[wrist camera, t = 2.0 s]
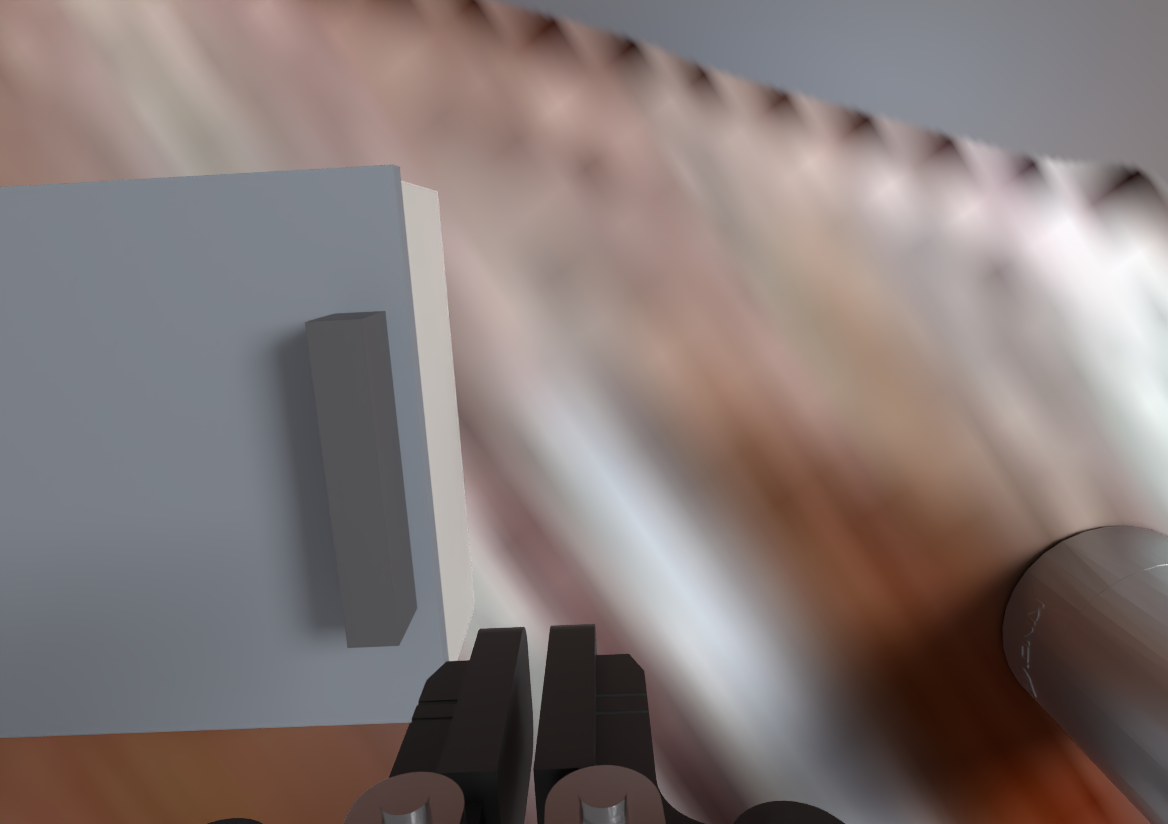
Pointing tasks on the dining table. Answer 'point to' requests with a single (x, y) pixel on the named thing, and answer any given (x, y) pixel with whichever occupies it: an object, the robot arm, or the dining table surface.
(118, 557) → the lid
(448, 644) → the box
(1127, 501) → the dining table surface
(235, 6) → the dining table surface
